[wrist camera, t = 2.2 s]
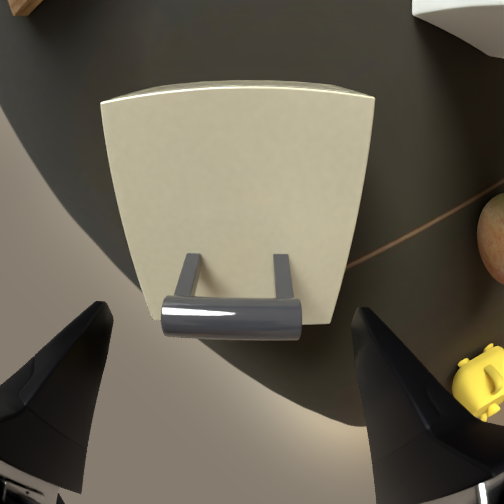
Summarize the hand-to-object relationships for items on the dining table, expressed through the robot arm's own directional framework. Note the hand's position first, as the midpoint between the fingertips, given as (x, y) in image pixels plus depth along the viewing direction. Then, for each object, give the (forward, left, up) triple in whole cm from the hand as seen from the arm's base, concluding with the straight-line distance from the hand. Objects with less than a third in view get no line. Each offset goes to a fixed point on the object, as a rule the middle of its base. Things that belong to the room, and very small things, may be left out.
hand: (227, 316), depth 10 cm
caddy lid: (0, +1, -5) cm, 5 cm away
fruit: (+22, -1, -11) cm, 25 cm away
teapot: (+38, -28, -11) cm, 48 cm away
